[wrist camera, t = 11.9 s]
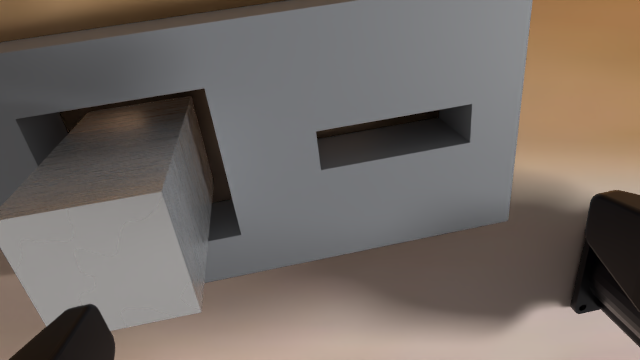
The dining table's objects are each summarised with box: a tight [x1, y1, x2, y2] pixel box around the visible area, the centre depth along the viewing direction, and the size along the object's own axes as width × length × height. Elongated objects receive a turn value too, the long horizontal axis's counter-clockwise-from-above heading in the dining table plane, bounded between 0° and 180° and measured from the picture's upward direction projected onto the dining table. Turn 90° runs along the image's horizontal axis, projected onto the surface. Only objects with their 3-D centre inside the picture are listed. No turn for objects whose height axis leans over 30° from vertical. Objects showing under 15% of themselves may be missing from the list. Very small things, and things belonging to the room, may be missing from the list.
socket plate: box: [0, 0, 532, 288], centre depth 17 cm, size 10×20×3 cm, turn 97°
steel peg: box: [0, 96, 214, 331], centre depth 15 cm, size 4×4×8 cm
